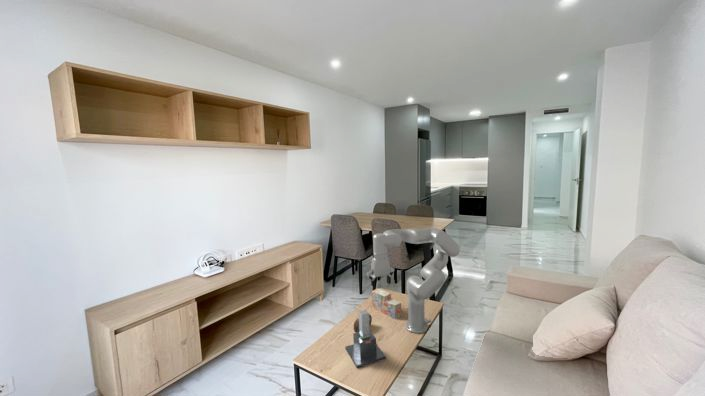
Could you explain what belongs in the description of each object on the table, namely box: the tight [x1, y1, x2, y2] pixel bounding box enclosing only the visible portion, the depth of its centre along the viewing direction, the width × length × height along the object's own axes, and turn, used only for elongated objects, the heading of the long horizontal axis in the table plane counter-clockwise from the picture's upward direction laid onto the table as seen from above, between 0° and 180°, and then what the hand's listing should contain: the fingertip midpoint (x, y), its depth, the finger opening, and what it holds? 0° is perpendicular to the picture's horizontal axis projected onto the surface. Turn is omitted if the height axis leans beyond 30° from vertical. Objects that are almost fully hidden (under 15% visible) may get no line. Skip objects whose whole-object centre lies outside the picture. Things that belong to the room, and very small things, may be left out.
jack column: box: [358, 309, 371, 340], centre depth 148 cm, size 4×4×16 cm
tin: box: [353, 313, 373, 333], centre depth 171 cm, size 15×3×8 cm, turn 140°
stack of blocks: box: [371, 287, 402, 320], centre depth 191 cm, size 21×6×12 cm, turn 39°
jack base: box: [345, 329, 387, 369], centre depth 149 cm, size 16×16×10 cm
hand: (381, 284), depth 162 cm, fingers open, 9 cm apart
